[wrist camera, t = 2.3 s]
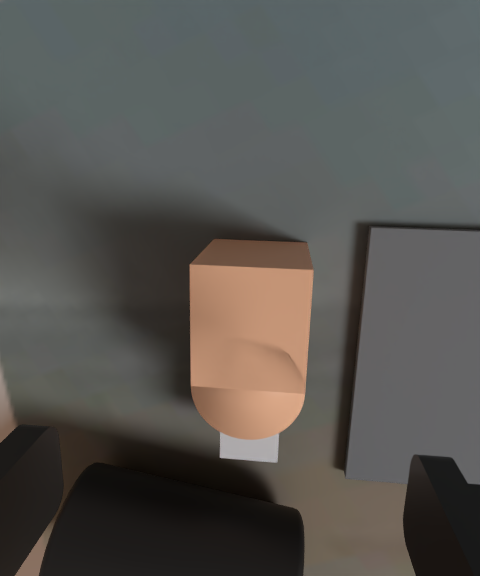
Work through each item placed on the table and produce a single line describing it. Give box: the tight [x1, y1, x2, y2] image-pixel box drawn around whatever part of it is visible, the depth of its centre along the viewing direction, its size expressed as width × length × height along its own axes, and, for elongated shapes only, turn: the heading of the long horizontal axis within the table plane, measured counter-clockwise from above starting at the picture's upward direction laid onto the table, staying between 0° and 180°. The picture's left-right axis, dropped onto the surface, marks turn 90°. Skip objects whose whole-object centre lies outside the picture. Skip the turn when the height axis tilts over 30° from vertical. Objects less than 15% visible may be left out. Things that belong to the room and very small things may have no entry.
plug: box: [190, 239, 314, 463], centre depth 18 cm, size 9×4×5 cm, turn 179°
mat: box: [344, 226, 480, 484], centre depth 19 cm, size 12×9×1 cm
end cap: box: [39, 463, 304, 576], centre depth 20 cm, size 10×7×7 cm
